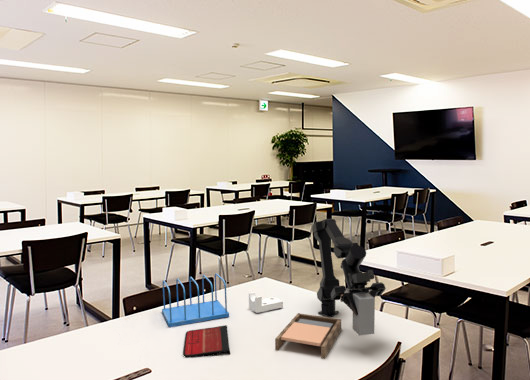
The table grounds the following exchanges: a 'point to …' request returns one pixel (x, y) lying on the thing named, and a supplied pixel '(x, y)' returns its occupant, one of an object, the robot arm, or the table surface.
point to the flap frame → (336, 322)
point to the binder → (206, 342)
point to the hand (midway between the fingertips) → (365, 314)
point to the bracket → (263, 303)
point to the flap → (308, 332)
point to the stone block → (364, 314)
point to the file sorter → (194, 307)
